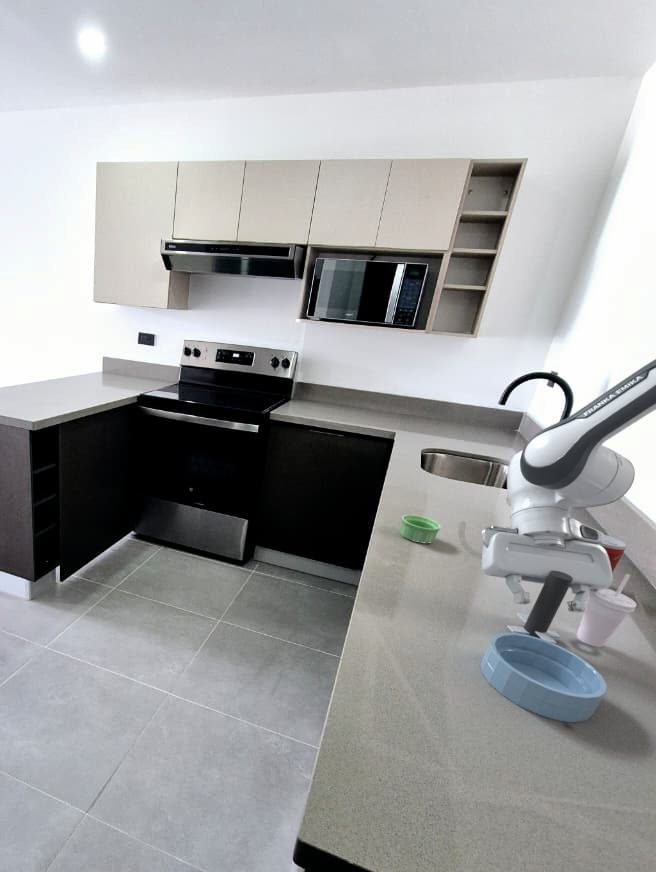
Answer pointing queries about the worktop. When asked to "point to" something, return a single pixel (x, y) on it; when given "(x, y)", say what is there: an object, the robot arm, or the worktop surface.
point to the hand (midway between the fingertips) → (549, 607)
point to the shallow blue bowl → (542, 677)
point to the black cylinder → (545, 608)
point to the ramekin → (419, 528)
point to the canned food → (613, 549)
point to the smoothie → (604, 614)
